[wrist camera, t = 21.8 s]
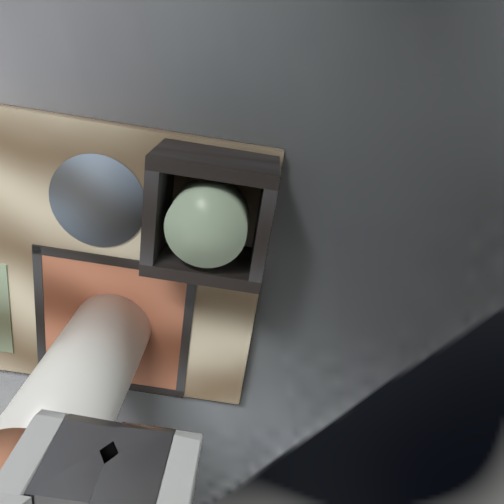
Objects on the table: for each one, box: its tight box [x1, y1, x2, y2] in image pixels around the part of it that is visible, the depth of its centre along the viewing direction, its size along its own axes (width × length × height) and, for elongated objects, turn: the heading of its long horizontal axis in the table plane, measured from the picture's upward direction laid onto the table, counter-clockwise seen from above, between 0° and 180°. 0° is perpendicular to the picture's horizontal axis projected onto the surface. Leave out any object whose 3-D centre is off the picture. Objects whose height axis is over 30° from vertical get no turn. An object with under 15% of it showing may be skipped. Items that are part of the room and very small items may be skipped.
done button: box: [164, 179, 249, 268], centre depth 21 cm, size 4×4×2 cm
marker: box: [0, 294, 151, 470], centre depth 21 cm, size 5×5×13 cm
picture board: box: [0, 104, 284, 404], centre depth 24 cm, size 16×20×5 cm
